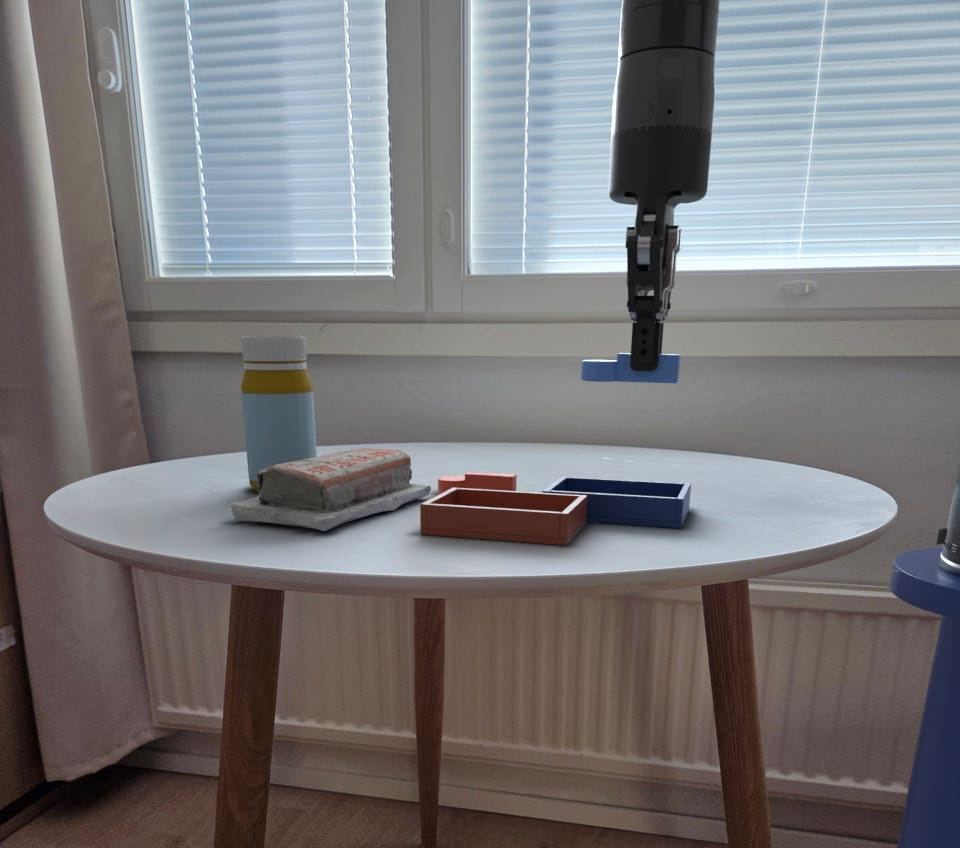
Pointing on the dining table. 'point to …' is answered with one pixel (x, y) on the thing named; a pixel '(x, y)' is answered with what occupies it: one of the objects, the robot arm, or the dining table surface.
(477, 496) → the terracotta tray
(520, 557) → the dining table surface
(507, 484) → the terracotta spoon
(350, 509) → the packaged product
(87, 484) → the dining table surface
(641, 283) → the robot arm
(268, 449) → the bottle
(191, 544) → the dining table surface
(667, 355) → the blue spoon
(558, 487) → the blue tray
